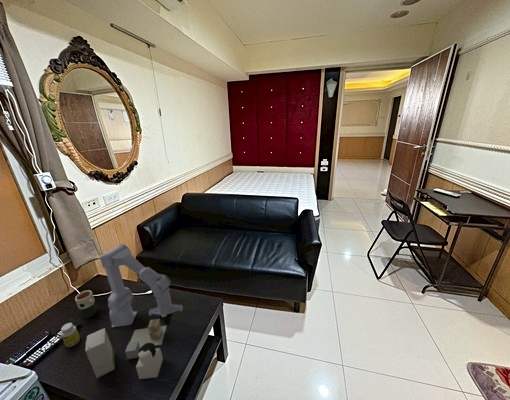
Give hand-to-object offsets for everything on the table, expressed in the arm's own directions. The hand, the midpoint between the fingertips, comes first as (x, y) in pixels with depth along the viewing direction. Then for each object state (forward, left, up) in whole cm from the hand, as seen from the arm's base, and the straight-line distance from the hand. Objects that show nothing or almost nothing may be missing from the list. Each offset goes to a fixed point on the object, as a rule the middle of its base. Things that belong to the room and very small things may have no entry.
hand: (168, 323), depth 100 cm
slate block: (-14, -7, -7) cm, 17 cm away
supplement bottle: (-45, +4, -7) cm, 46 cm away
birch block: (-7, 0, -6) cm, 9 cm away
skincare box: (-24, -10, -7) cm, 27 cm away
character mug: (-46, +20, -7) cm, 51 cm away
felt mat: (-11, 0, -7) cm, 12 cm away
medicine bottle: (-5, -15, -7) cm, 17 cm away
